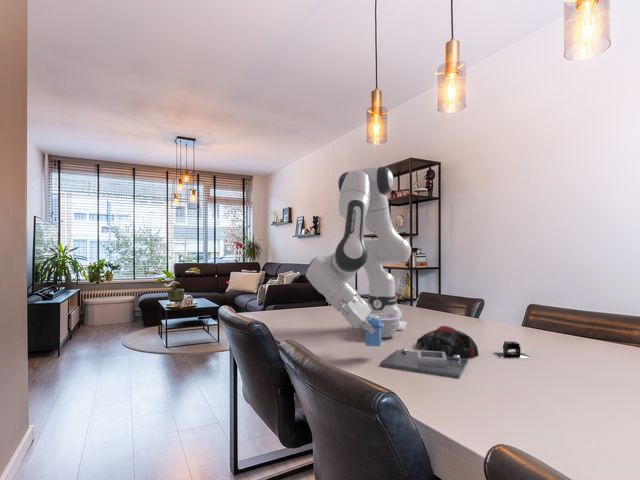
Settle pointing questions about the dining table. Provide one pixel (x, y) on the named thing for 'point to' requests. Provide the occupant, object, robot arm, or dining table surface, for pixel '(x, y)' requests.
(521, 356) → the black block with base
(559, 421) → the dining table surface
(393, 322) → the paper bowls
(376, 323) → the block
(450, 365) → the plate
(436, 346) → the drone shell
